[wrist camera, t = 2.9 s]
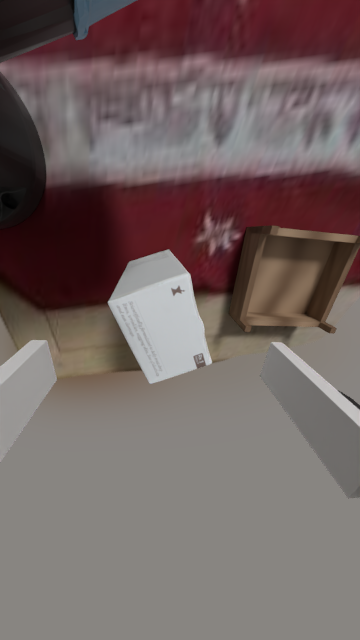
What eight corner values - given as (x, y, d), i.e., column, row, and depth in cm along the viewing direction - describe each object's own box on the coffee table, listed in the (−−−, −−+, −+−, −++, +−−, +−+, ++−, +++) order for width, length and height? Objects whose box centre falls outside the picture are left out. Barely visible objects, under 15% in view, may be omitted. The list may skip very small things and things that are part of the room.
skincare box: (128, 261, 25) (96, 296, 11) (171, 247, 25) (189, 266, 11) (150, 315, 28) (145, 389, 15) (187, 303, 28) (215, 367, 15)
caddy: (228, 313, 30) (244, 331, 25) (246, 227, 25) (272, 225, 19) (304, 316, 32) (334, 333, 26) (336, 235, 26) (381, 236, 21)
